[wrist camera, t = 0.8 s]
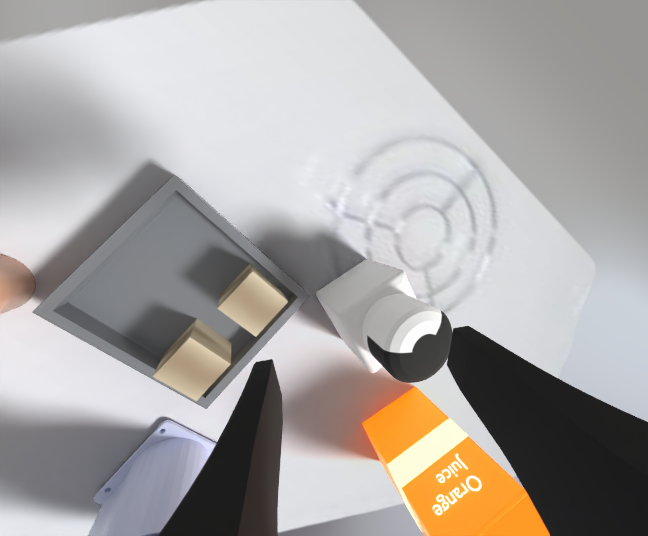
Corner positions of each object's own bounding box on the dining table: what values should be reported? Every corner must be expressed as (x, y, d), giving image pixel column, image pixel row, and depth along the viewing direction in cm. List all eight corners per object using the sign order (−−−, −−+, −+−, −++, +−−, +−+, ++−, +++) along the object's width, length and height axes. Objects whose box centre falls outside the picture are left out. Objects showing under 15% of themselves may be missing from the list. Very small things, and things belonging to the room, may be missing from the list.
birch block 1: (202, 373, 25) (196, 401, 21) (165, 351, 24) (152, 376, 20) (231, 342, 25) (230, 364, 22) (197, 318, 24) (190, 337, 20)
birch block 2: (252, 319, 26) (255, 336, 22) (220, 294, 24) (217, 308, 20) (280, 289, 26) (288, 301, 22) (250, 263, 24) (252, 271, 21)
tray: (208, 392, 26) (206, 409, 24) (54, 301, 21) (31, 312, 18) (303, 289, 27) (309, 296, 25) (180, 179, 22) (174, 174, 20)
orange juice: (360, 422, 33) (520, 685, 15) (415, 385, 35) (619, 575, 16) (380, 462, 36) (538, 730, 17) (430, 425, 37) (623, 631, 19)
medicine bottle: (390, 306, 31) (476, 356, 20) (342, 341, 30) (405, 414, 19) (366, 257, 29) (448, 282, 18) (313, 292, 28) (365, 342, 17)
